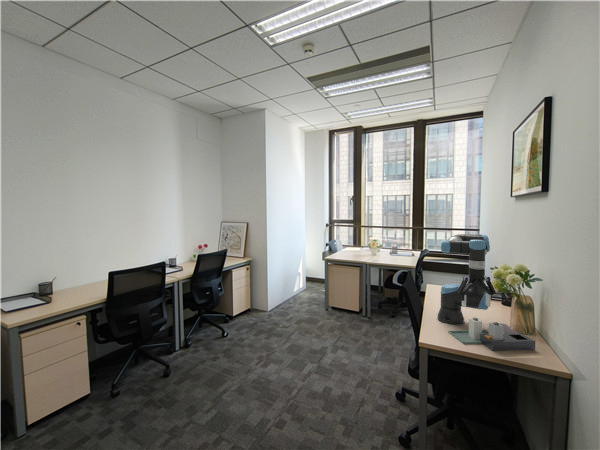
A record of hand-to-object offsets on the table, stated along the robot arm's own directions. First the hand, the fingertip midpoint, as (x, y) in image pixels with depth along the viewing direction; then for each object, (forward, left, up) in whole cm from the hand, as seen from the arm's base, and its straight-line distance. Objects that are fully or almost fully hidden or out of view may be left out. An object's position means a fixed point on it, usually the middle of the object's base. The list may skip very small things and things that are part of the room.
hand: (475, 306), depth 150 cm
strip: (+10, +10, -18) cm, 23 cm away
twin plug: (+10, +4, -16) cm, 19 cm away
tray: (0, 0, -18) cm, 18 cm away
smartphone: (-11, +26, -19) cm, 34 cm away
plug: (0, 0, -18) cm, 18 cm away
